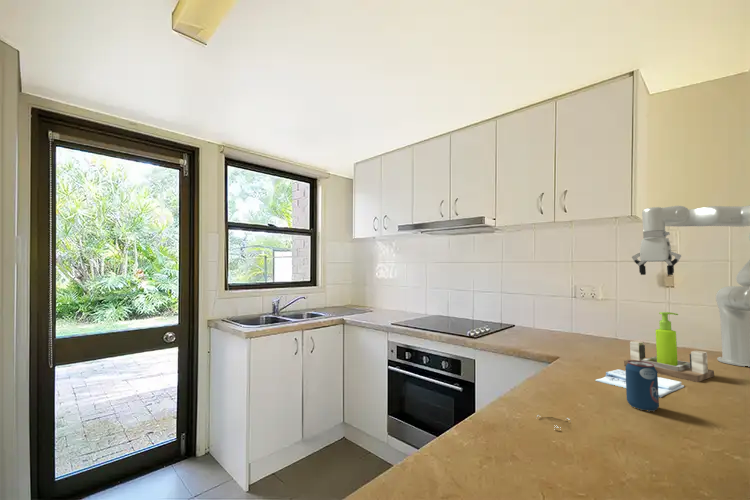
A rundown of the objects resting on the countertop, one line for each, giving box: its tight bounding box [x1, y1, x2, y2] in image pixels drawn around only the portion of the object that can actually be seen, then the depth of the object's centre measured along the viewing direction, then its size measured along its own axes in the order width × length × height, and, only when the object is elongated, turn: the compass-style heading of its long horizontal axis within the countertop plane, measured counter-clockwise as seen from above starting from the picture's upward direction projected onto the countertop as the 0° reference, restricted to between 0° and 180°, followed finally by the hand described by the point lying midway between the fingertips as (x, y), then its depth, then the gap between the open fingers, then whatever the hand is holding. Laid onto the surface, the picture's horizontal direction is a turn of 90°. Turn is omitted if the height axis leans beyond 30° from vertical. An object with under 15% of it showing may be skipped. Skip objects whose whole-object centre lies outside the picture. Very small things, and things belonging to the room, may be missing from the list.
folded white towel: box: [595, 368, 685, 399], centre depth 111 cm, size 19×20×2 cm
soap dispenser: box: [655, 311, 679, 366], centre depth 126 cm, size 6×7×20 cm
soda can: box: [624, 359, 660, 412], centre depth 92 cm, size 7×7×12 cm
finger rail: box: [623, 340, 715, 383], centre depth 126 cm, size 14×22×9 cm, turn 28°
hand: (656, 274), depth 144 cm, fingers open, 9 cm apart
